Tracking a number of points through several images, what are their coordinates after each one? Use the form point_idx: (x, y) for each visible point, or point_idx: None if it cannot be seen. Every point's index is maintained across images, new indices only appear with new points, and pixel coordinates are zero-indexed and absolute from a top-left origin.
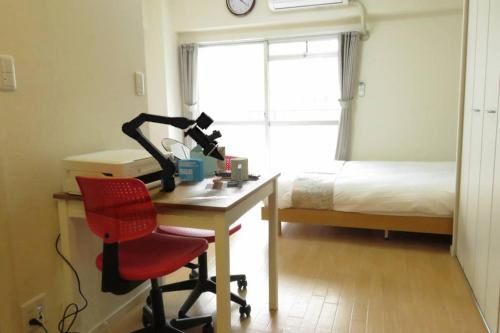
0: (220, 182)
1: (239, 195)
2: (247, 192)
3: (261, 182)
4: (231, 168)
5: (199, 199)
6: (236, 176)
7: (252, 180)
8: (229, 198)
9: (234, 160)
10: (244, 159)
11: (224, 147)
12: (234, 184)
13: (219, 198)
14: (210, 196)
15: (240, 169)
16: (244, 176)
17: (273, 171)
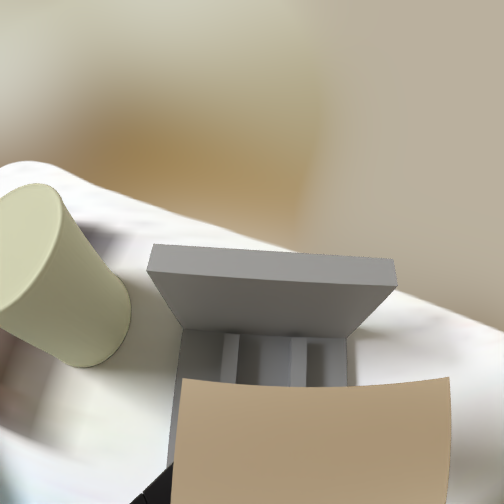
0: None
1: (453, 330)
2: (403, 295)
3: (174, 216)
4: (43, 339)
5: (488, 490)
6: (104, 328)
7: (104, 252)
8: (492, 367)
9: (35, 286)
10: (59, 202)
11: (441, 390)
12: (304, 361)
13: (490, 411)
14: (456, 466)
15: (389, 268)
16: (114, 279)
17: (8, 173)
